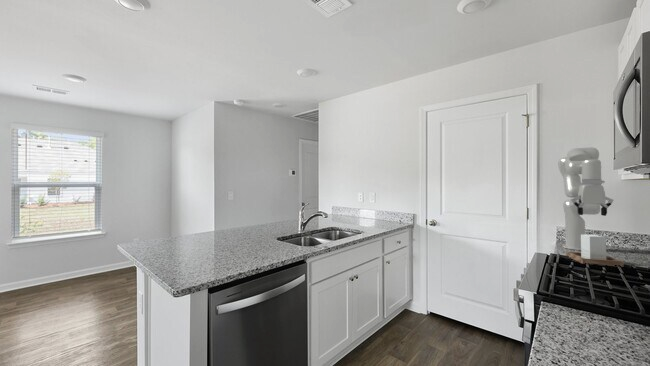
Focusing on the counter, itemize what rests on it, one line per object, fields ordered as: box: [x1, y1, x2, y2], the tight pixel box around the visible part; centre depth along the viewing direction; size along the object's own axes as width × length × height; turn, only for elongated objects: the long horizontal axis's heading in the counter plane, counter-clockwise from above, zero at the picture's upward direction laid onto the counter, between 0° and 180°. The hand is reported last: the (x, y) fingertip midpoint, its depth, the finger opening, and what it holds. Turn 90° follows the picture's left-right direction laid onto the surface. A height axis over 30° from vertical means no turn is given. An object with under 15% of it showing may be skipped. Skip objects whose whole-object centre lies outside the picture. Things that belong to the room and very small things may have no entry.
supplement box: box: [580, 234, 607, 260], centre depth 150 cm, size 7×7×13 cm
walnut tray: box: [565, 251, 625, 268], centre depth 149 cm, size 18×16×2 cm
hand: (592, 215), depth 150 cm, fingers open, 9 cm apart
